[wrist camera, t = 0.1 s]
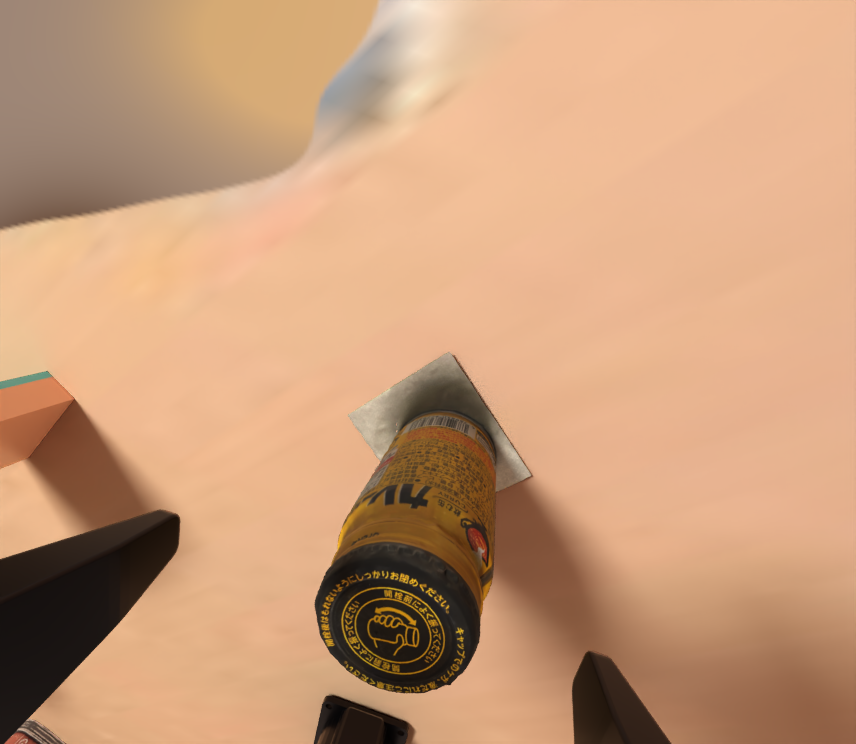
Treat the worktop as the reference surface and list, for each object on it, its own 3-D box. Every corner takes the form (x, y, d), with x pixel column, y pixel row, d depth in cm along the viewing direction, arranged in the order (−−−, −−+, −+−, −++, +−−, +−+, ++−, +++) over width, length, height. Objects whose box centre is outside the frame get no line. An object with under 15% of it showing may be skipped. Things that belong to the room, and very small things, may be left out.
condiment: (427, 525, 25) (366, 743, 13) (348, 413, 24) (210, 546, 12) (531, 473, 23) (564, 677, 11) (450, 349, 22) (398, 438, 10)
